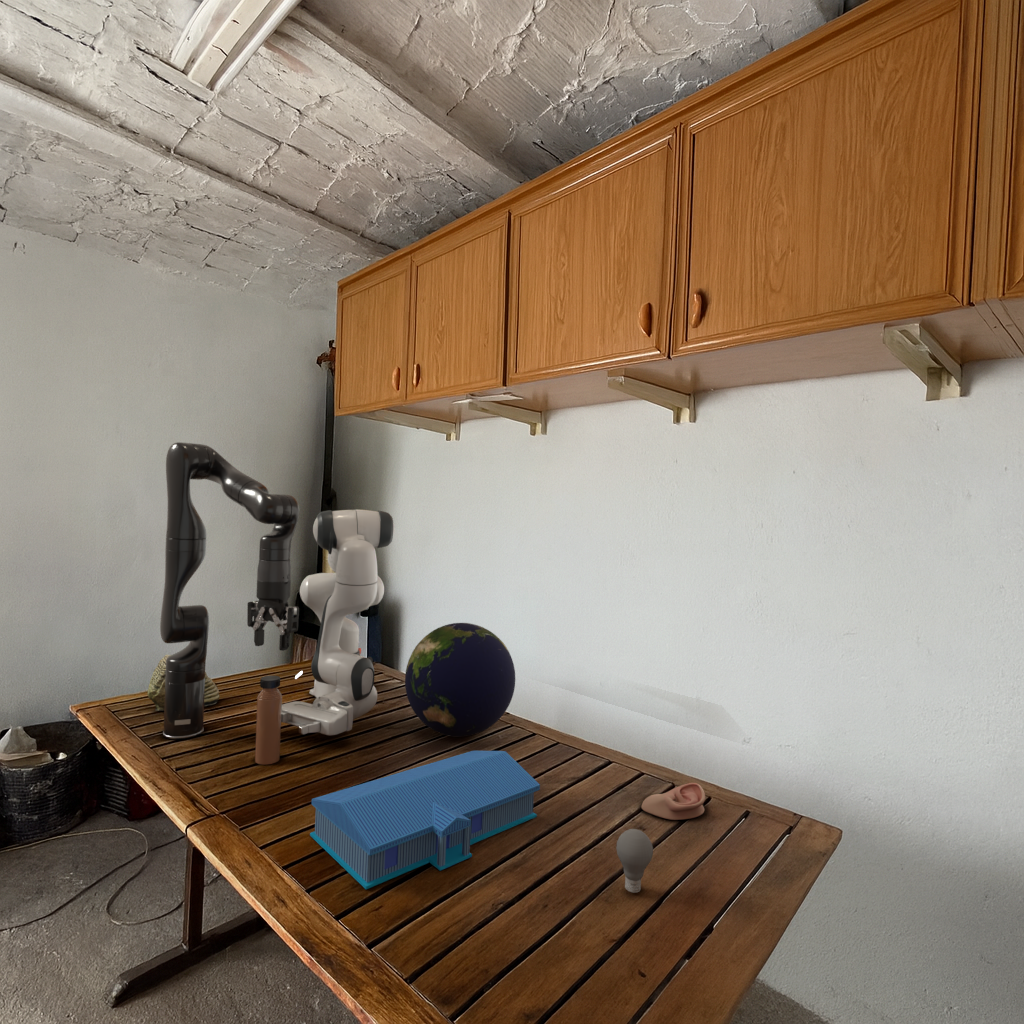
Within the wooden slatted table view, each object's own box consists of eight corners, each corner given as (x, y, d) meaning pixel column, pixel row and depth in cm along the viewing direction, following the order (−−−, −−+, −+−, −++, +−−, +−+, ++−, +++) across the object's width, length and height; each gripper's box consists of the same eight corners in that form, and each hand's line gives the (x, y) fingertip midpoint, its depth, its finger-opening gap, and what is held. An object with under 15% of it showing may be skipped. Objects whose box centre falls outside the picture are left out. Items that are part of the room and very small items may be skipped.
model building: (376, 899, 100) (378, 836, 100) (308, 834, 119) (310, 781, 118) (548, 822, 127) (550, 773, 127) (472, 779, 145) (474, 735, 145)
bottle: (281, 762, 150) (284, 681, 149) (256, 766, 147) (259, 684, 147) (278, 753, 155) (281, 675, 154) (253, 757, 152) (256, 677, 152)
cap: (281, 687, 150) (281, 679, 150) (261, 689, 148) (261, 681, 148) (278, 682, 154) (279, 674, 154) (259, 684, 152) (259, 676, 151)
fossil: (144, 707, 182) (145, 655, 182) (212, 696, 194) (213, 647, 194) (151, 716, 175) (153, 662, 175) (221, 703, 188) (223, 653, 188)
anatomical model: (642, 796, 131) (642, 773, 142) (641, 815, 131) (641, 791, 142) (708, 805, 128) (703, 781, 140) (707, 825, 129) (702, 799, 140)
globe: (380, 741, 165) (385, 626, 164) (436, 708, 192) (440, 610, 192) (485, 764, 153) (490, 641, 153) (528, 725, 181) (533, 621, 181)
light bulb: (610, 879, 108) (613, 822, 108) (644, 879, 109) (647, 822, 109) (619, 902, 102) (622, 840, 102) (655, 901, 103) (658, 840, 103)
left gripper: (239, 577, 150) (236, 646, 150) (286, 582, 144) (283, 655, 144) (263, 574, 156) (260, 640, 157) (308, 579, 151) (306, 648, 151)
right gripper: (300, 692, 172) (258, 705, 160) (357, 706, 163) (317, 722, 151) (299, 715, 173) (257, 730, 160) (356, 731, 163) (316, 748, 151)
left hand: (271, 647), depth 150 cm, fingers open, 7 cm apart
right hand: (286, 726), depth 155 cm, fingers open, 8 cm apart
